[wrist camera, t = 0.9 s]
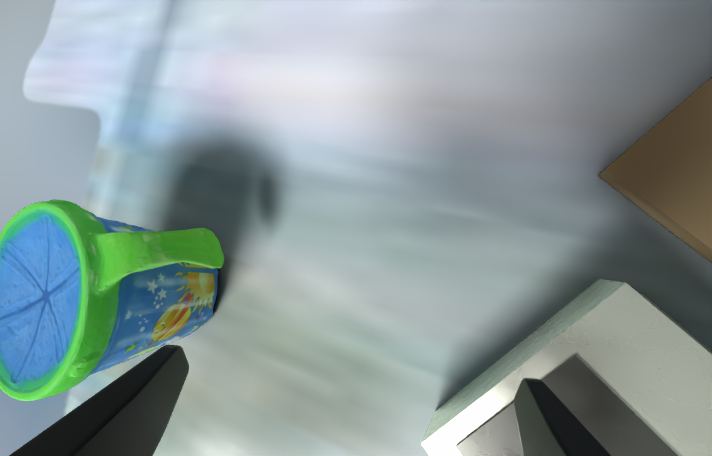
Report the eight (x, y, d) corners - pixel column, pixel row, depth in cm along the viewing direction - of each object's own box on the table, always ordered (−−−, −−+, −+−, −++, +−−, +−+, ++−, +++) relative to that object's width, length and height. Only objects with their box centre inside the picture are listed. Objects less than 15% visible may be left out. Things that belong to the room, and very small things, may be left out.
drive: (739, 387, 14) (829, 433, 10) (528, 524, 16) (537, 602, 13) (604, 273, 16) (636, 275, 12) (436, 408, 19) (420, 445, 15)
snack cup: (251, 193, 25) (106, 151, 16) (278, 332, 23) (129, 379, 14) (121, 250, 31) (-43, 245, 21) (133, 368, 28) (-44, 419, 19)
